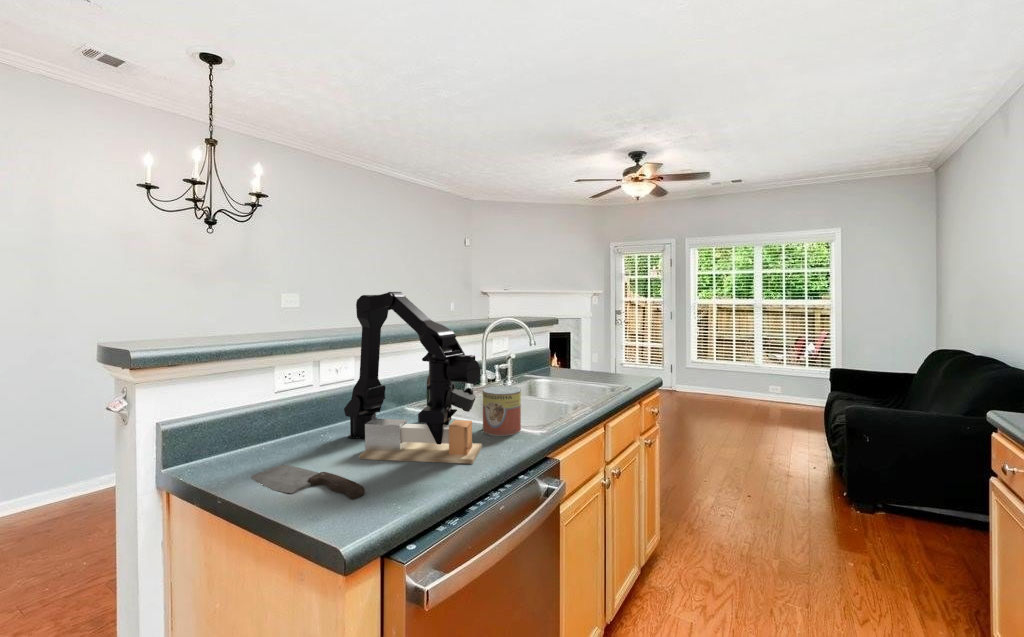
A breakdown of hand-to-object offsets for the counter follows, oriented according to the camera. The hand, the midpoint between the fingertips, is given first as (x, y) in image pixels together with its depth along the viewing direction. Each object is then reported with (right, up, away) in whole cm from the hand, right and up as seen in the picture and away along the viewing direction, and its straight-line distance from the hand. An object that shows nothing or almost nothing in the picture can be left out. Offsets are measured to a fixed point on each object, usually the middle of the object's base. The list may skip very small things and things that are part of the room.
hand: (441, 441), depth 120 cm
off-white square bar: (-4, 0, 0) cm, 4 cm away
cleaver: (-26, -5, -19) cm, 32 cm away
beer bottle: (-5, -1, +32) cm, 32 cm away
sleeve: (-14, -3, +2) cm, 15 cm away
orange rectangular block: (+5, -2, 0) cm, 5 cm away
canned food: (+15, -2, +21) cm, 25 cm away
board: (-5, -3, +1) cm, 6 cm away
